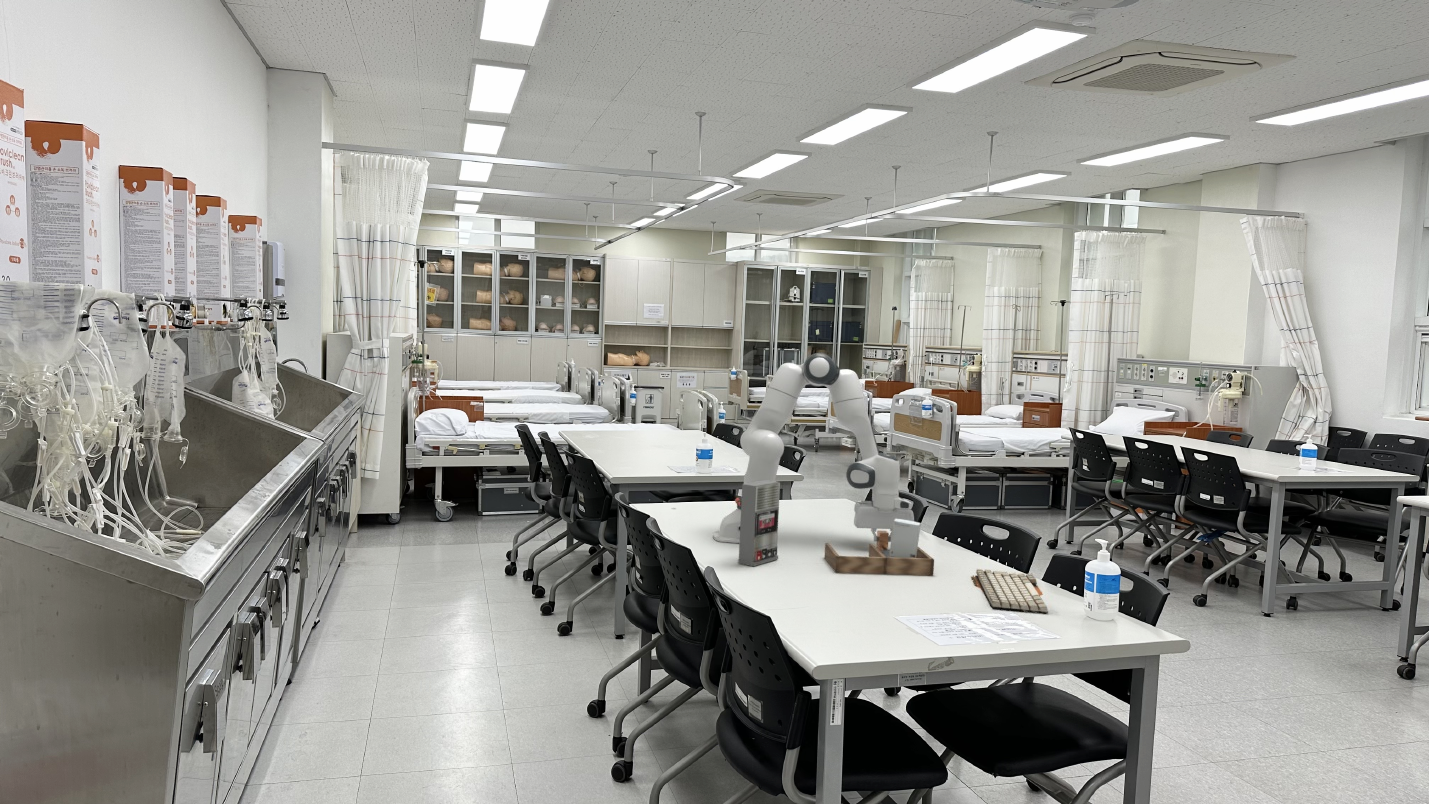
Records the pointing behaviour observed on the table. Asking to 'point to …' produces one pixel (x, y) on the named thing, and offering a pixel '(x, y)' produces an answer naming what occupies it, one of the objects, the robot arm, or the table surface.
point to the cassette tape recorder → (759, 522)
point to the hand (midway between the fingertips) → (882, 541)
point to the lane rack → (880, 563)
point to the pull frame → (883, 542)
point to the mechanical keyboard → (1010, 591)
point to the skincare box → (904, 539)
